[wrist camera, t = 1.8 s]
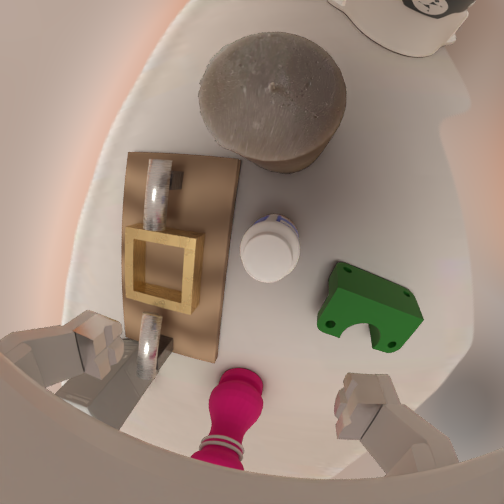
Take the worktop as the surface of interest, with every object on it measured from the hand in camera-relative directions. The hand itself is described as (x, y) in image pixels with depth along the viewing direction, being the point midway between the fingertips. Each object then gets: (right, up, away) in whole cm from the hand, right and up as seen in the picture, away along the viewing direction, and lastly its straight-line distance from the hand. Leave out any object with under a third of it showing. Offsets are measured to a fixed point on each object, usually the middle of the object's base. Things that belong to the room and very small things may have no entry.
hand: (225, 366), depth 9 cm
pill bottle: (+3, +6, +22) cm, 23 cm away
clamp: (+14, -2, +23) cm, 27 cm away
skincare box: (-18, -13, +30) cm, 38 cm away
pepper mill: (-1, -15, +28) cm, 32 cm away
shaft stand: (-9, +3, +25) cm, 27 cm away
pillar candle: (+4, +17, +19) cm, 26 cm away
